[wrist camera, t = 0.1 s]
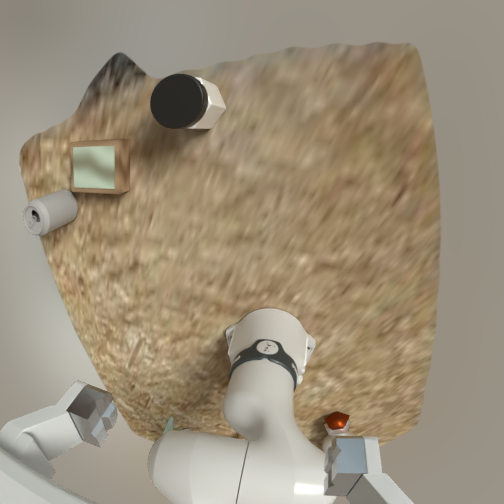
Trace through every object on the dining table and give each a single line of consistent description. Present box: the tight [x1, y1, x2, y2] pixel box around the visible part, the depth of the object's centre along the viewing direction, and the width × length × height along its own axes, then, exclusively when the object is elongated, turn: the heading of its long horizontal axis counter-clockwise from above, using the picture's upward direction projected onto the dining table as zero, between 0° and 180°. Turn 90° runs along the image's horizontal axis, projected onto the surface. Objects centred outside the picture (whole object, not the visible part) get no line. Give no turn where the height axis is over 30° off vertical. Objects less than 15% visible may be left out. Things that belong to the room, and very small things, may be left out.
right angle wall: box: [163, 417, 194, 434], centre depth 80 cm, size 12×12×8 cm
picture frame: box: [70, 139, 130, 194], centre depth 55 cm, size 10×12×4 cm
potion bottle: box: [322, 412, 355, 453], centre depth 70 cm, size 9×10×15 cm
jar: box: [150, 74, 226, 129], centre depth 46 cm, size 9×8×12 cm
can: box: [23, 189, 78, 236], centre depth 57 cm, size 8×8×12 cm
